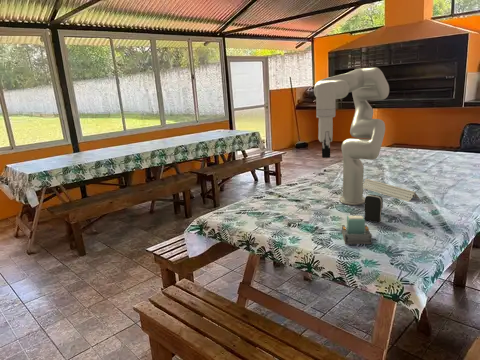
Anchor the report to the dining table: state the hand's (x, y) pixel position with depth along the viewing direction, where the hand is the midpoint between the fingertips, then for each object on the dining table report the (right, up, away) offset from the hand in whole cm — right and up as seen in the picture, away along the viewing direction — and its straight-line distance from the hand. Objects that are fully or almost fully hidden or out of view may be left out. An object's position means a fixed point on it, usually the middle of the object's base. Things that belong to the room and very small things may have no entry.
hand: (326, 157), depth 148 cm
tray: (+9, -32, -11) cm, 35 cm away
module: (+9, -31, -10) cm, 34 cm away
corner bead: (+42, -17, +38) cm, 60 cm away
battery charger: (+22, -27, +5) cm, 35 cm away
